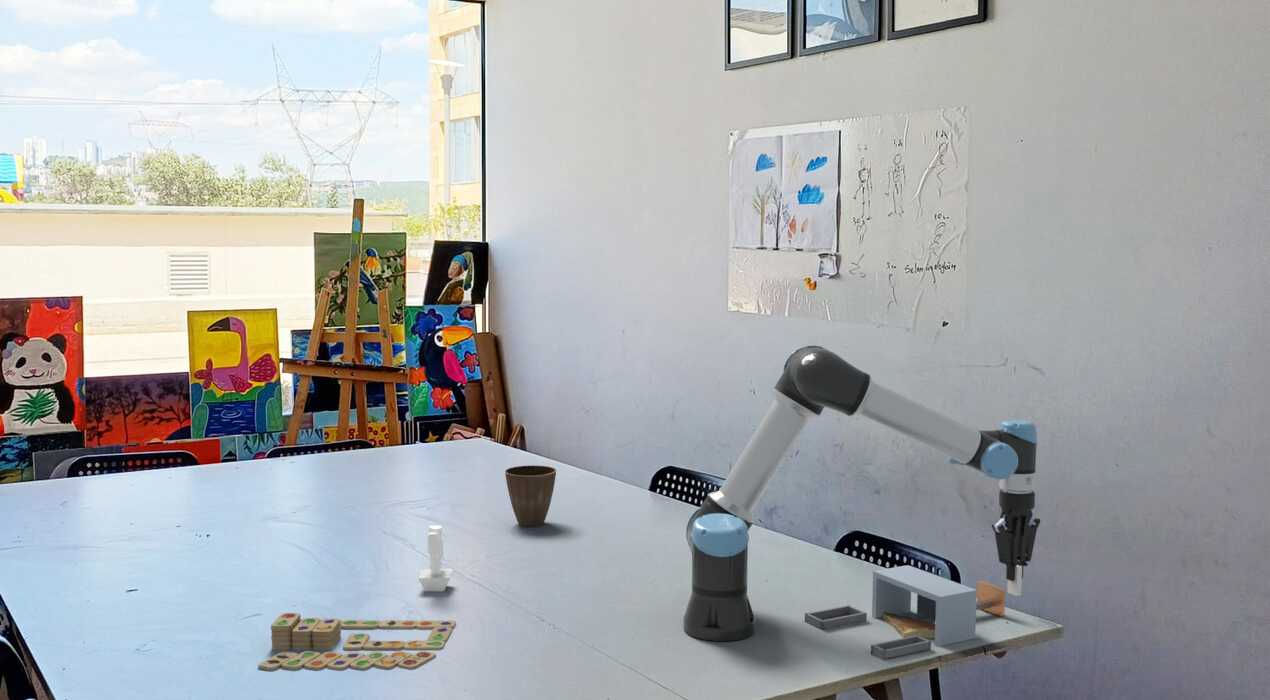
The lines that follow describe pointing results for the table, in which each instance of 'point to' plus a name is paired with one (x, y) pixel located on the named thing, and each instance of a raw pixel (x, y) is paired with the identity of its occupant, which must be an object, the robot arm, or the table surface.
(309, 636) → the pile of dominoes
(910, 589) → the tunnel
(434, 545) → the figurine
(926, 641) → the tray
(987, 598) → the plunger
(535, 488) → the plant pot
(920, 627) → the pizza slice
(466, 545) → the table surface
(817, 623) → the tray
